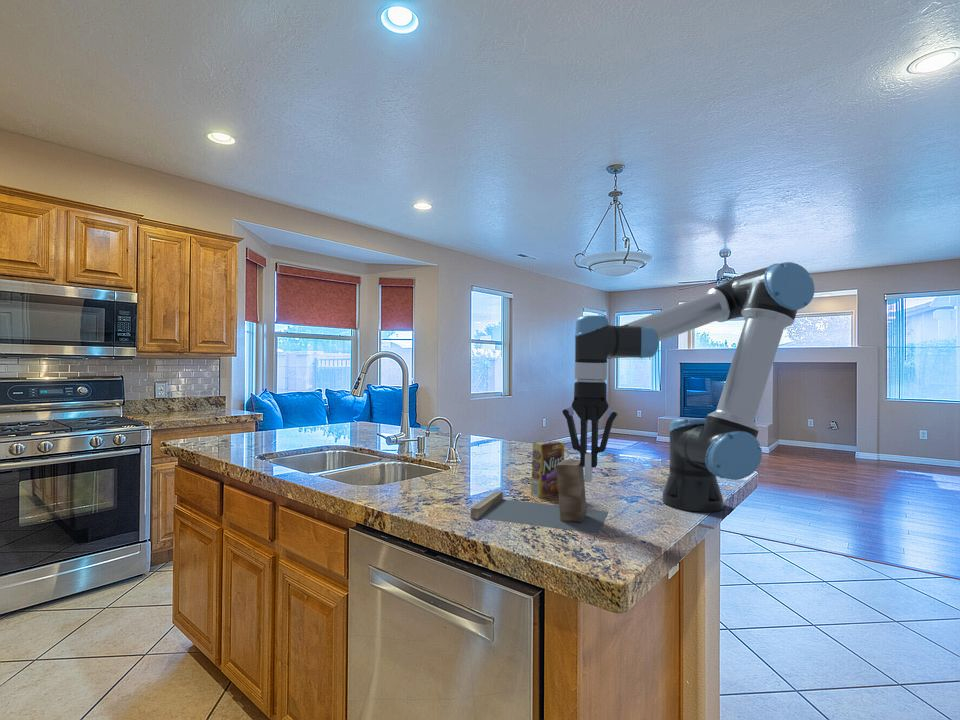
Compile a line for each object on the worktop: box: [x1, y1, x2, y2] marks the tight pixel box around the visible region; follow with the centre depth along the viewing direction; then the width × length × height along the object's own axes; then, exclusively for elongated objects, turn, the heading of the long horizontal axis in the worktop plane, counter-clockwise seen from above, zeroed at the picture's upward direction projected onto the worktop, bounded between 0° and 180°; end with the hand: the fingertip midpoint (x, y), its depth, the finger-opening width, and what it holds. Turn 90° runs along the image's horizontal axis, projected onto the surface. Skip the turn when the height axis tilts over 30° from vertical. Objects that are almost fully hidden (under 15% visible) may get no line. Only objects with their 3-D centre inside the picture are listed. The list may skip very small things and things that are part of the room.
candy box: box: [530, 440, 565, 499], centre depth 139 cm, size 9×4×15 cm, turn 123°
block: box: [557, 459, 587, 522], centre depth 117 cm, size 5×7×13 cm
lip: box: [470, 490, 504, 520], centre depth 125 cm, size 2×18×2 cm, turn 159°
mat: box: [477, 498, 609, 535], centre depth 120 cm, size 28×18×1 cm, turn 69°
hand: (588, 480), depth 116 cm, fingers closed
